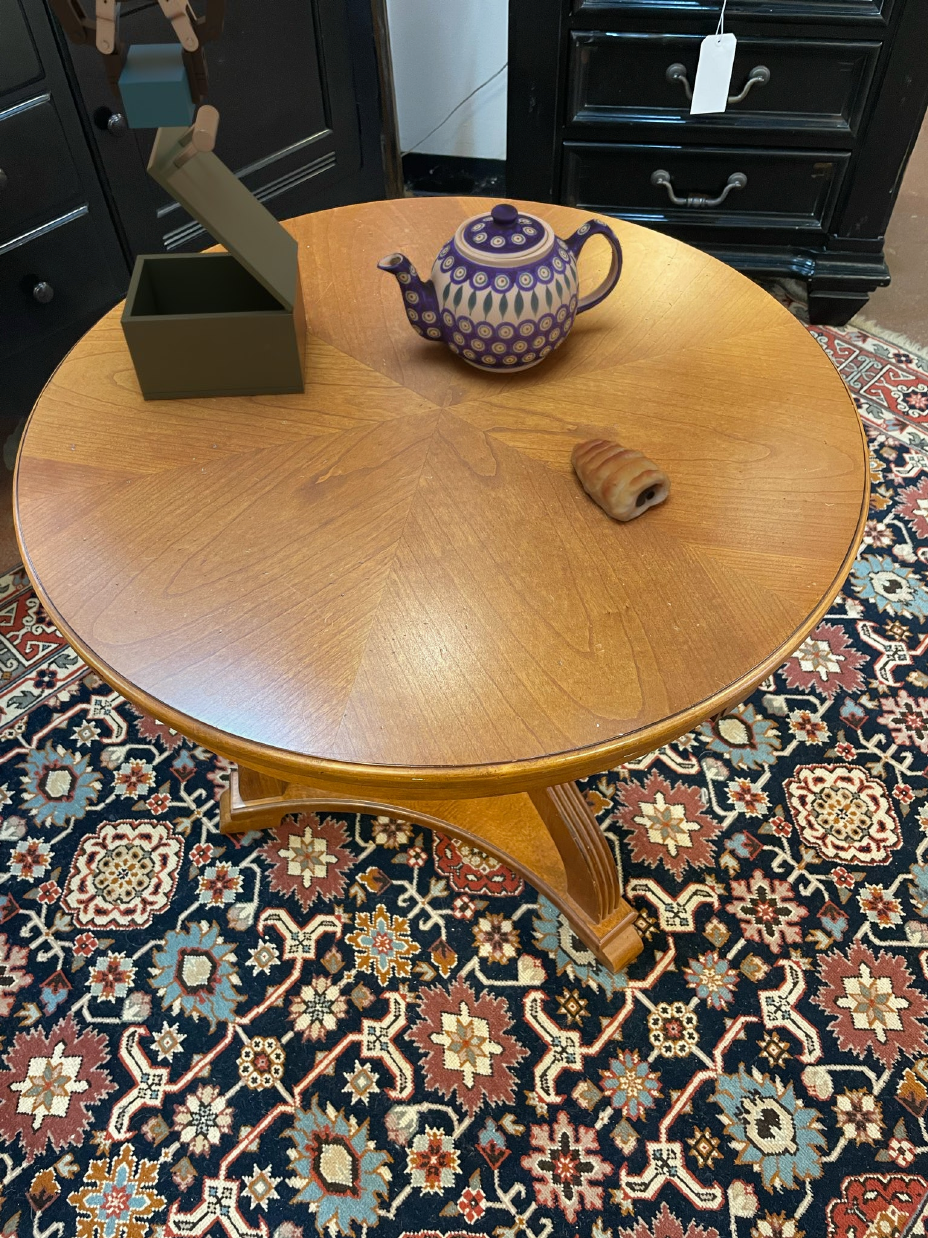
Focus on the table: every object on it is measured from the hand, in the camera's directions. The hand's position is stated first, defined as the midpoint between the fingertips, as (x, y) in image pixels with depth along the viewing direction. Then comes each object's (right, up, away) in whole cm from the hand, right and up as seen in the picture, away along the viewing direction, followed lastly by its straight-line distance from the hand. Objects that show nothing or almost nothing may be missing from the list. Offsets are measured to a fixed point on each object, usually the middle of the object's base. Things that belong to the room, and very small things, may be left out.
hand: (163, 99), depth 73 cm
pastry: (+37, -28, +13) cm, 48 cm away
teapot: (+27, -11, +27) cm, 40 cm away
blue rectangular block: (0, 0, 0) cm, 1 cm away
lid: (+2, -3, +13) cm, 14 cm away
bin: (-1, -13, +25) cm, 28 cm away
